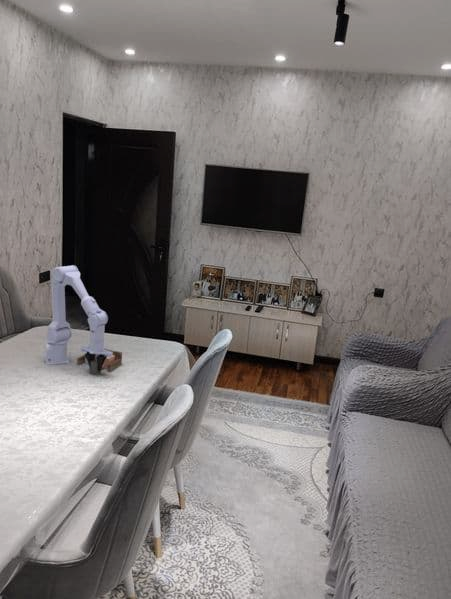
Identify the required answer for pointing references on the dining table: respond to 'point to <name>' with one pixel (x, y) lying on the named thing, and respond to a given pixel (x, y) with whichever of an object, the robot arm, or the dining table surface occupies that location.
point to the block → (86, 359)
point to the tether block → (105, 365)
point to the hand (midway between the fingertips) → (95, 369)
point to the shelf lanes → (110, 366)
